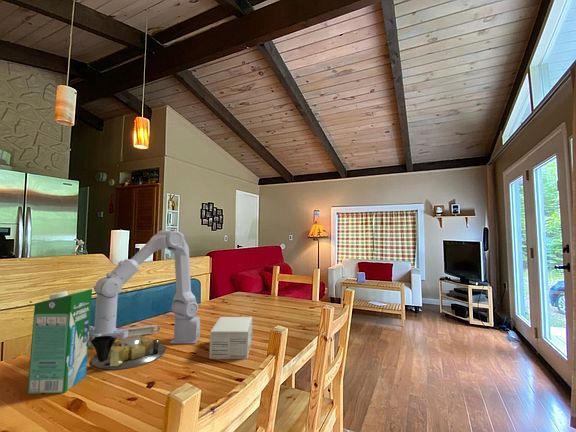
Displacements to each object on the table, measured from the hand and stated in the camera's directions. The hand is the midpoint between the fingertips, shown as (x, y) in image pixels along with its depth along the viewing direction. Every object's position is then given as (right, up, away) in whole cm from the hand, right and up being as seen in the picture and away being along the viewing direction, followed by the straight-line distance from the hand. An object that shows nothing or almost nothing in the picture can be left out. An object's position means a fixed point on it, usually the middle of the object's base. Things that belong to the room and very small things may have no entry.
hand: (103, 360), depth 87 cm
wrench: (-6, -4, +21) cm, 22 cm away
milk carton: (-5, -1, -11) cm, 12 cm away
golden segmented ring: (+4, -1, +7) cm, 8 cm away
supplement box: (+37, -4, +15) cm, 40 cm away
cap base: (+4, -2, +8) cm, 10 cm away
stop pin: (+12, -3, +8) cm, 15 cm away
